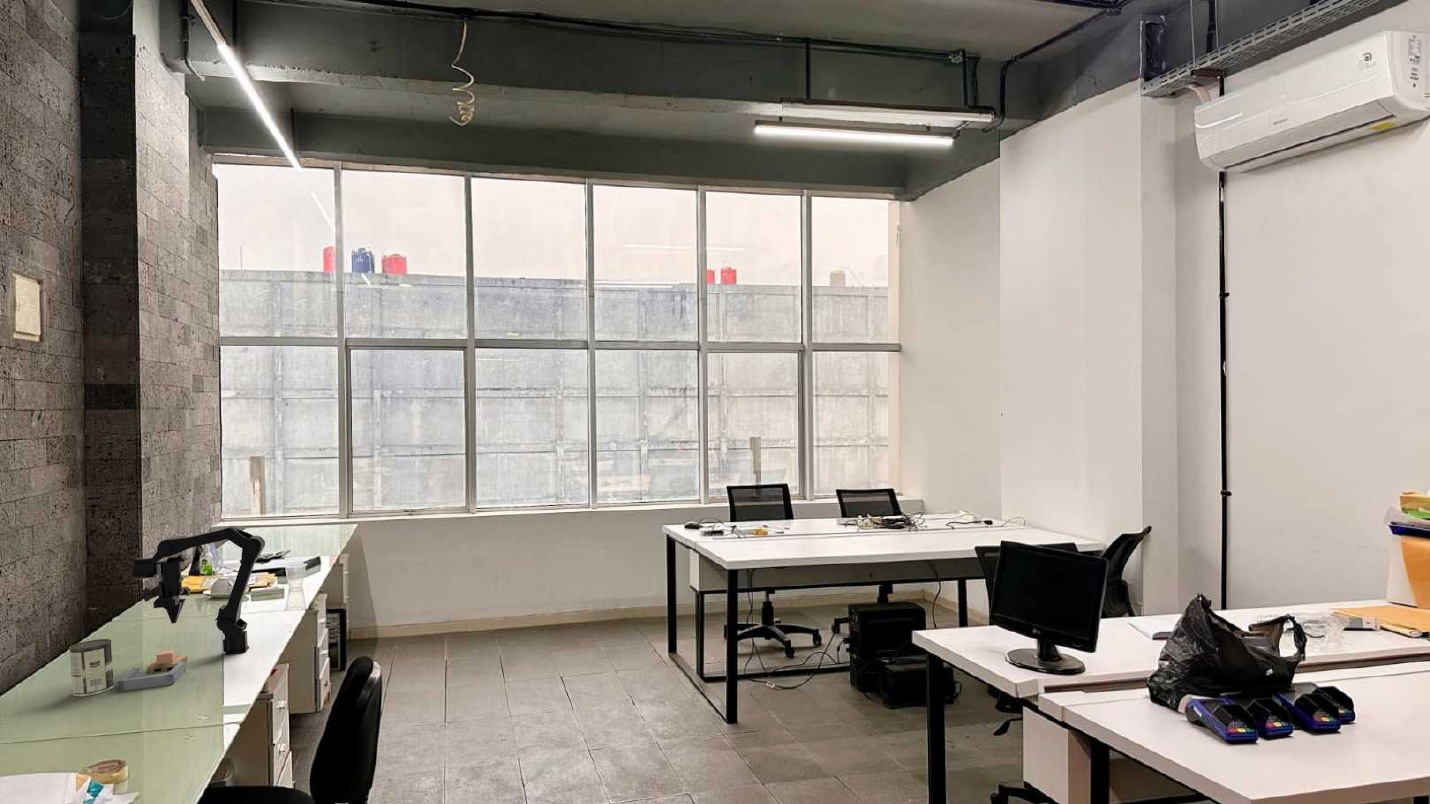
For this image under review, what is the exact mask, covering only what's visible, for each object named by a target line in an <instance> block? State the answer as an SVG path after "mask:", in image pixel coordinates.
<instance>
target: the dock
mask: <svg viewBox="0 0 1430 804" xmlns="http://www.w3.org/2000/svg"><path fill="white" fill-rule="evenodd" d="M186 664H187V663H185V662H179V663H178V664H177V665H176V666H175V667H172V669H171V670H170V671H169V672H168V673H162V674H155V675H147V676H141V672H140V671H141V670H140V667H139V666H138V667H133V668H131V670H130V671H128V672H127V673H125V674H124V675H123V676H122V677H120V679H119V680H117V689H118V690H117V691H118V692H124V691H131V690H133V691H134V690H141V689H148V688H154V687H162V686H163V687H164V686H171V685H174V684H175V683H176V682H177V681H178V680H179V679H180V678H181V677H182V676H183V675H184V674H185V673H186V671H187V668H186V667H187V666H186Z"/></svg>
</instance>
